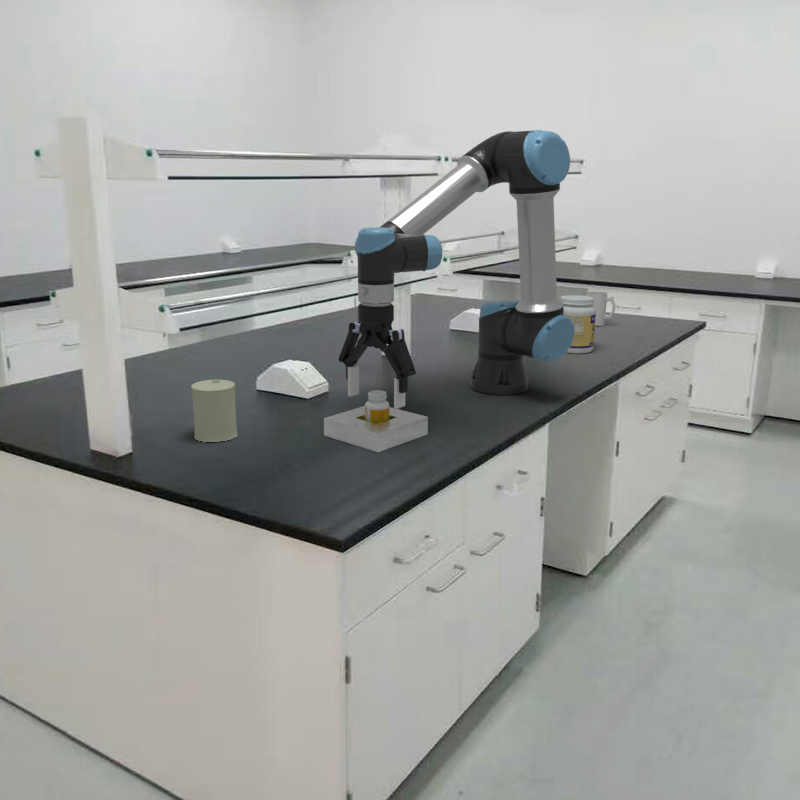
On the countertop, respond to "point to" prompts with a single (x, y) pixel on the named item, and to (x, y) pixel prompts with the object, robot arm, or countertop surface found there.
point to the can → (214, 410)
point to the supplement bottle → (377, 407)
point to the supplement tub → (580, 321)
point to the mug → (601, 306)
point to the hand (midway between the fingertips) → (376, 401)
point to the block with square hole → (375, 428)
